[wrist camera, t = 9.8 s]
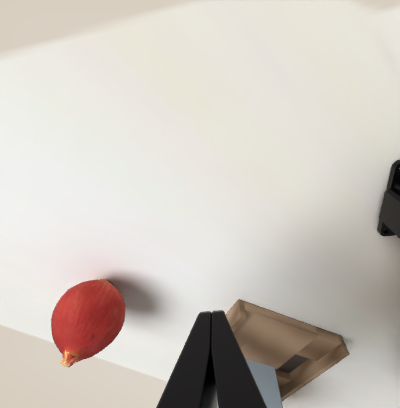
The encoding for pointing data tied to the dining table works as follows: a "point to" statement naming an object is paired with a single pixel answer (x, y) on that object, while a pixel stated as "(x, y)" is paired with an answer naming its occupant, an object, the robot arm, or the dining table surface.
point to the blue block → (266, 383)
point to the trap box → (285, 345)
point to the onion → (87, 320)
